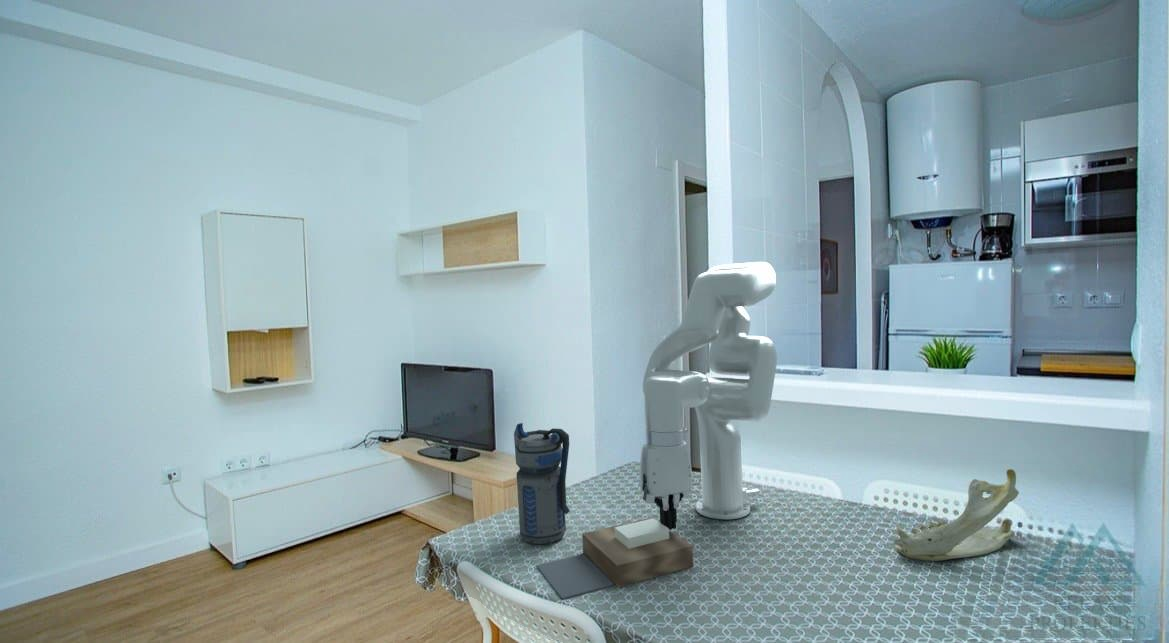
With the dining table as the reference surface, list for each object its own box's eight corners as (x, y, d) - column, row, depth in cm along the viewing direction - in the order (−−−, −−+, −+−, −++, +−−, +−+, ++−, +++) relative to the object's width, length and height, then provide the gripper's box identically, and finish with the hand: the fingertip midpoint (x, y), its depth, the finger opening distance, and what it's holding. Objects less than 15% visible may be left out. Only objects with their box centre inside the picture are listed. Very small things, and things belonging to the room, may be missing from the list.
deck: (650, 535, 125) (650, 517, 124) (693, 566, 110) (692, 545, 110) (583, 552, 118) (582, 533, 118) (618, 587, 104) (617, 565, 103)
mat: (583, 555, 117) (583, 553, 117) (613, 585, 104) (613, 583, 104) (536, 566, 113) (536, 565, 113) (562, 599, 100) (562, 597, 100)
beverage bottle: (562, 551, 119) (555, 432, 118) (508, 542, 125) (501, 428, 124) (583, 532, 128) (577, 421, 127) (533, 524, 134) (526, 418, 133)
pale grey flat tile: (653, 527, 119) (653, 518, 119) (669, 538, 114) (668, 528, 114) (614, 537, 116) (614, 527, 115) (628, 548, 110) (628, 538, 110)
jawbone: (907, 530, 102) (877, 490, 111) (905, 596, 110) (878, 553, 119) (1049, 498, 101) (1007, 460, 110) (1036, 567, 109) (998, 526, 118)
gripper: (685, 429, 123) (689, 513, 123) (623, 438, 117) (627, 528, 117) (706, 436, 116) (710, 525, 116) (641, 446, 110) (645, 541, 110)
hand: (668, 526), depth 117 cm, fingers closed
